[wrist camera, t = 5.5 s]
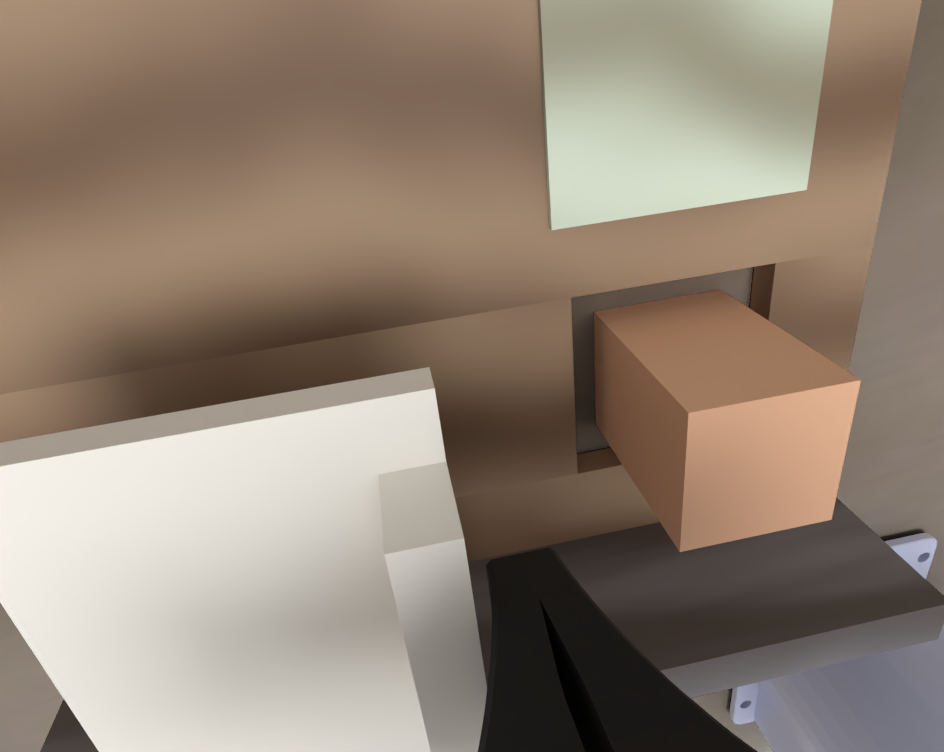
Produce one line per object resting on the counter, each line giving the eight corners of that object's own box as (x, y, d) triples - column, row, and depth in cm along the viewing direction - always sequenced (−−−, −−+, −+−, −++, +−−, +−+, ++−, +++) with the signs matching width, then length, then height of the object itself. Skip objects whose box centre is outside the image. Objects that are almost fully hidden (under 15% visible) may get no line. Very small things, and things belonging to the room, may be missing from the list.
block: (710, 402, 21) (831, 519, 16) (595, 424, 21) (679, 552, 15) (720, 289, 19) (860, 380, 14) (593, 311, 19) (689, 413, 13)
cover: (494, 773, 17) (518, 895, 15) (192, 847, 16) (164, 988, 14) (429, 366, 11) (451, 456, 9) (-51, 452, 10) (-177, 576, 8)
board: (799, 517, 24) (932, 656, 19) (126, 661, 22) (48, 869, 16) (926, -196, 14) (1292, -354, 9) (-291, -81, 12) (-861, -199, 6)
